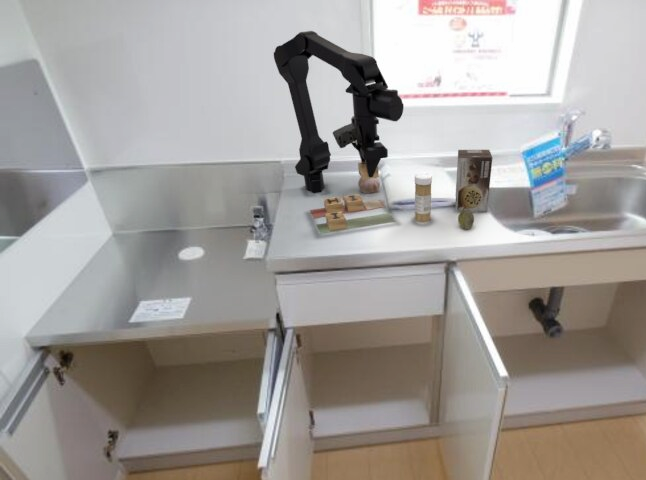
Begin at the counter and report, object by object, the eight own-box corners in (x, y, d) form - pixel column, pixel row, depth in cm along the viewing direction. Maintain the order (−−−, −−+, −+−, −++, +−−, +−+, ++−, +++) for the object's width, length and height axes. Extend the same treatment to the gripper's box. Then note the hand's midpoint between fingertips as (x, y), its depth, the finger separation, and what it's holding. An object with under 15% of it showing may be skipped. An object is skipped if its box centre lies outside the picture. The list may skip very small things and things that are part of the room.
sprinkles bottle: (427, 217, 127) (428, 170, 118) (433, 224, 124) (434, 177, 115) (412, 219, 126) (412, 172, 117) (417, 226, 122) (418, 179, 114)
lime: (473, 223, 124) (474, 206, 121) (473, 231, 121) (475, 214, 117) (457, 222, 124) (458, 206, 121) (457, 230, 121) (458, 213, 118)
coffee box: (484, 202, 135) (490, 149, 125) (487, 212, 130) (493, 157, 120) (454, 202, 135) (457, 148, 124) (456, 212, 130) (460, 156, 119)
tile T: (358, 173, 124) (357, 162, 122) (374, 171, 125) (373, 160, 123) (362, 179, 121) (362, 168, 119) (378, 177, 122) (378, 166, 120)
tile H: (324, 208, 128) (323, 198, 126) (340, 206, 129) (339, 196, 127) (328, 215, 125) (326, 205, 123) (343, 212, 126) (342, 202, 124)
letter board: (308, 213, 127) (307, 209, 127) (381, 202, 134) (381, 199, 133) (318, 237, 117) (318, 234, 116) (397, 224, 123) (397, 220, 122)
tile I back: (344, 205, 130) (343, 195, 128) (359, 203, 131) (358, 193, 129) (348, 212, 126) (347, 202, 124) (363, 209, 128) (362, 199, 126)
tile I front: (326, 223, 121) (325, 213, 119) (342, 221, 122) (341, 210, 120) (330, 231, 117) (328, 220, 115) (346, 228, 119) (345, 217, 117)
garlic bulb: (371, 184, 144) (369, 160, 139) (386, 191, 140) (385, 166, 135) (353, 191, 140) (350, 166, 135) (368, 198, 136) (366, 172, 131)
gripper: (326, 106, 117) (332, 165, 127) (342, 127, 104) (347, 190, 114) (367, 103, 121) (370, 161, 130) (387, 123, 107) (389, 185, 117)
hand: (368, 173), depth 123 cm, fingers closed on tile T, 4 cm apart
